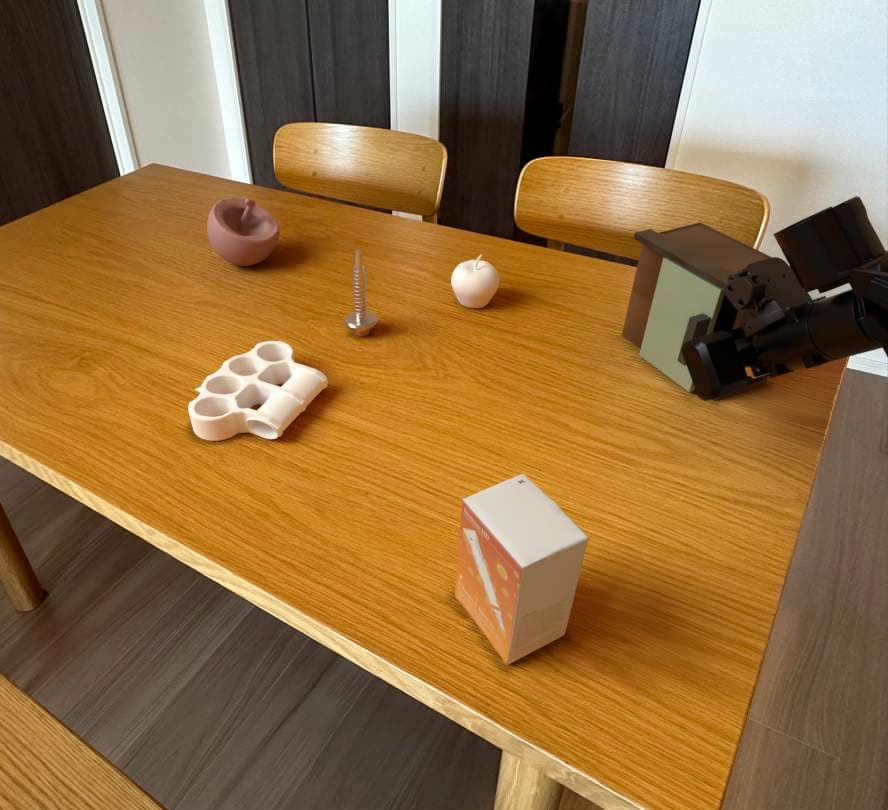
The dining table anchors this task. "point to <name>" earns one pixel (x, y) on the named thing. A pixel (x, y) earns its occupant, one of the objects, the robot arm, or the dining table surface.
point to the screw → (360, 301)
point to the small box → (518, 566)
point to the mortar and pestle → (242, 231)
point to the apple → (475, 283)
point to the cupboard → (698, 254)
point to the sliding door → (679, 319)
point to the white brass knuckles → (255, 394)
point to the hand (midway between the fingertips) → (710, 366)
